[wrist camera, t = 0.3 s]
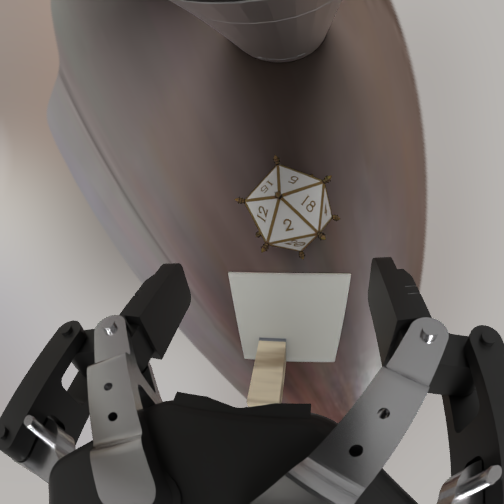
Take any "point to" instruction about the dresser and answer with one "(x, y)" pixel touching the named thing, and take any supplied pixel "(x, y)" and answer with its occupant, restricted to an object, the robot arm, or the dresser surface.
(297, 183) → the game die
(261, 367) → the maple block
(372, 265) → the robot arm
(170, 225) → the dresser surface
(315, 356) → the felt mat
